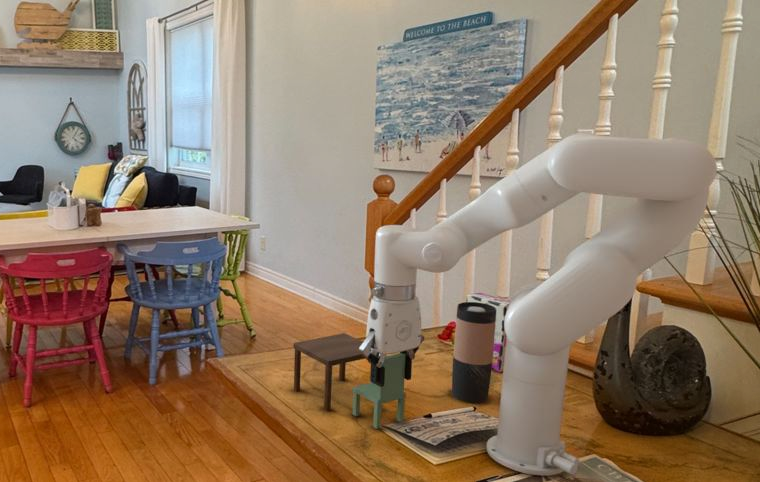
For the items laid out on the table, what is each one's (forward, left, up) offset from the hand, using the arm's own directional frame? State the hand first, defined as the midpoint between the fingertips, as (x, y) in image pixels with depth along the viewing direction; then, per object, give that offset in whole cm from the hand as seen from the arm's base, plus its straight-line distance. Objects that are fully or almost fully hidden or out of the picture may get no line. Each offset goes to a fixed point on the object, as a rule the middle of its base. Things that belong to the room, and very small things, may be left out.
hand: (390, 380), depth 123 cm
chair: (+3, 0, -9) cm, 10 cm away
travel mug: (+2, -25, -10) cm, 27 cm away
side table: (+16, 0, -9) cm, 18 cm away
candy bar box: (+13, -44, -10) cm, 47 cm away
